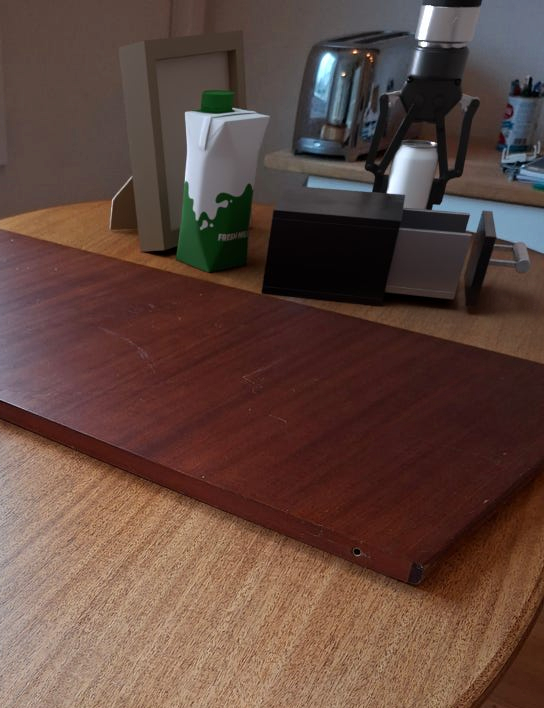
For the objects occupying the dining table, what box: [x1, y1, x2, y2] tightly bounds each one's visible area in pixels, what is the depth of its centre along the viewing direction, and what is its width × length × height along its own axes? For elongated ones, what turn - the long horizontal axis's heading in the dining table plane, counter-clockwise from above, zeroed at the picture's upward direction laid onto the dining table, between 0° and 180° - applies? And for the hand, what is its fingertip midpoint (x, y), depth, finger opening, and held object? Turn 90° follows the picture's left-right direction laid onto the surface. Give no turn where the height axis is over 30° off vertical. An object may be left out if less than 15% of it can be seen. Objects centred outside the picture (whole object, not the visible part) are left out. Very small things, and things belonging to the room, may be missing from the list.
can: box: [385, 139, 439, 209], centre depth 131 cm, size 6×6×12 cm
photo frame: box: [108, 29, 253, 253], centre depth 126 cm, size 15×22×25 cm
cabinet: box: [260, 185, 405, 307], centre depth 112 cm, size 15×14×10 cm
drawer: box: [385, 208, 532, 308], centre depth 108 cm, size 18×13×8 cm
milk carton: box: [175, 90, 271, 273], centre depth 115 cm, size 9×9×20 cm
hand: (400, 224), depth 134 cm, fingers closed on can, 6 cm apart
